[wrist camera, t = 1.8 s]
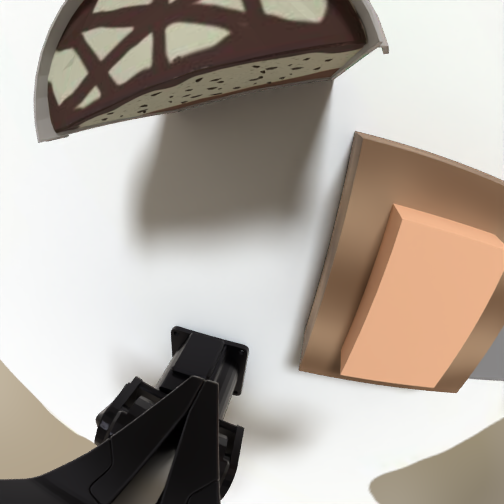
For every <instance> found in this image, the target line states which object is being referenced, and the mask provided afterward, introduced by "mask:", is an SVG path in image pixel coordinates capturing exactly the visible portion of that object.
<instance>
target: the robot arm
mask: <svg viewBox="0 0 504 504" xmlns="http://www.w3.org/2000/svg"><path fill="white" fill-rule="evenodd" d="M177 332H178V333H177ZM171 342H172V357H173V358H172V360H171V361H170V363H169V365H168V366H167V368H166V370H165V371H164V373H163V375H162V377H161V378H160V380H159V382H158V383H157V385H156V387H155V388H154V387H152V386H150V385H149V384H147V383H145V382H143V380H142V379H140V378H138V377H135V378H134V380H133V381H132V382H131V383H128V384H126V385H125V386H124V388H123V389H122V391H121V392H120V394H119V395H118V396H117V397H116V398H115V400H114V401H113V402H112V403H111V404H110V405H109V406H107V407H106V408H105V409H104V410H103V411H102V412H100V413H99V414H98V416H97V417H96V423H97V427H98V428H97V432H96V436H95V444H96V445H97V447H96V448H94V449H92V450H91V451H89V452H88V453H86V454H84V455H82V456H80V457H79V458H77V459H75V460H73V461H71V462H69V463H67V464H65V465H63V466H61V467H59V468H56V469H54V470H52V471H50V472H48V473H45V474H43V475H41V476H37V477H34V478H27V479H5V480H4V479H0V504H221V503H220V500H221V499H222V498H223V497H224V496H225V494H226V493H227V491H228V489H229V488H230V486H231V483H232V481H233V479H234V476H235V473H236V470H237V466H238V460H239V455H240V449H241V443H242V438H243V432H244V428H243V427H241V426H238V425H237V426H235V425H233V424H230V423H228V422H226V421H223V418H224V415H225V413H226V410H227V407H228V405H229V402H230V399H231V396H232V395H236V396H238V395H240V394H241V391H242V386H243V381H244V375H245V370H246V364H247V358H248V353H249V349H248V347H247V346H245V345H242V344H238V343H234V342H231V341H227V340H223V339H220V338H216V337H212V336H209V335H205V334H202V333H198V332H195V331H192V330H188V329H185V328H182V327H178V326H175V327H173V329H172V330H171ZM241 350H242V351H241Z"/></svg>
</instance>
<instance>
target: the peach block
mask: <svg viewBox="0 0 504 504" xmlns="http://www.w3.org/2000/svg"><path fill="white" fill-rule="evenodd" d="M503 272H504V243H503V242H502V241H501V240H500V239H499V238H498V237H497V236H496V235H494V234H492V233H489V232H486V231H483V230H480V229H477V228H474V227H471V226H468V225H465V224H462V223H458V222H455V221H452V220H449V219H446V218H442V217H439V216H436V215H432V214H429V213H426V212H422V211H419V210H415V209H412V208H408V207H404V206H401V205H397V204H393V206H392V209H391V213H390V216H389V220H388V223H387V226H386V230H385V233H384V236H383V239H382V242H381V245H380V248H379V252H378V255H377V257H376V260H375V263H374V266H373V269H372V272H371V275H370V278H369V280H368V283H367V286H366V289H365V291H364V294H363V297H362V299H361V302H360V305H359V307H358V310H357V312H356V315H355V317H354V320H353V322H352V325H351V327H350V330H349V332H348V334H347V337H346V339H345V342H344V344H343V346H342V349H341V367H340V375H344V376H350V377H356V378H362V379H368V380H374V381H381V382H388V383H396V384H403V385H412V386H420V387H430V388H434V387H435V386H436V384H437V383H438V382H439V380H440V379H441V377H442V376H443V375H444V373H445V372H446V370H447V369H448V368H449V366H450V365H451V363H452V362H453V360H454V359H455V357H456V356H457V354H458V353H459V351H460V350H461V348H462V347H463V345H464V343H465V342H466V340H467V339H468V337H469V335H470V334H471V332H472V330H473V329H474V327H475V325H476V324H477V322H478V320H479V318H480V317H481V315H482V313H483V311H484V309H485V308H486V306H487V304H488V302H489V300H490V298H491V296H492V294H493V292H494V290H495V288H496V286H497V284H498V282H499V280H500V278H501V276H502V274H503Z"/></svg>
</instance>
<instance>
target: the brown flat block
mask: <svg viewBox="0 0 504 504" xmlns="http://www.w3.org/2000/svg"><path fill="white" fill-rule="evenodd" d="M393 204H397V205H401V206H404V207H408V208H412V209H415V210H419V211H422V212H426V213H429V214H432V215H436V216H439V217H442V218H446V219H449V220H452V221H455V222H458V223H462V224H465V225H468V226H471V227H474V228H477V229H480V230H483V231H486V232H489V233H492V234H494V235H496V236H497V237H498V238H499V239H500V240H501V241H502V242H503V243H504V181H503V180H500V179H498V178H496V177H494V176H491V175H489V174H486V173H484V172H482V171H479V170H477V169H474V168H472V167H469V166H466V165H464V164H461V163H458V162H456V161H453V160H450V159H447V158H445V157H442V156H439V155H436V154H433V153H430V152H427V151H424V150H421V149H418V148H414V147H411V146H408V145H405V144H401V143H398V142H394V141H391V140H387V139H384V138H380V137H376V136H373V135H369V134H365V133H361V132H357V131H355V134H354V139H353V144H352V149H351V154H350V159H349V164H348V168H347V173H346V178H345V182H344V187H343V191H342V195H341V200H340V204H339V208H338V212H337V217H336V221H335V225H334V229H333V233H332V237H331V241H330V244H329V248H328V252H327V256H326V260H325V263H324V267H323V271H322V274H321V278H320V281H319V285H318V288H317V292H316V295H315V299H314V302H313V306H312V309H311V312H310V316H309V319H308V322H307V325H306V329H305V333H304V340H303V346H302V353H301V359H300V365H299V371H304V372H309V373H314V374H319V375H324V376H329V377H334V378H340V379H346V380H352V381H358V382H364V383H370V384H377V385H384V386H392V387H399V388H408V389H417V390H426V391H437V392H449V393H457V392H458V391H459V389H460V388H461V387H462V385H463V384H464V383H465V382H466V380H467V379H468V378H469V376H470V375H471V374H472V372H473V371H474V370H475V368H476V367H477V365H478V364H479V363H480V361H481V360H482V358H483V357H484V355H485V354H486V353H487V351H488V350H489V348H490V347H491V345H492V344H493V342H494V340H495V339H496V337H497V336H498V334H499V332H500V331H501V329H502V328H503V326H504V272H503V274H502V276H501V278H500V280H499V282H498V284H497V286H496V288H495V290H494V292H493V294H492V296H491V298H490V300H489V302H488V304H487V306H486V308H485V309H484V311H483V313H482V315H481V317H480V318H479V320H478V322H477V324H476V325H475V327H474V329H473V330H472V332H471V334H470V335H469V337H468V339H467V340H466V342H465V343H464V345H463V347H462V348H461V350H460V351H459V353H458V354H457V356H456V357H455V359H454V360H453V362H452V363H451V365H450V366H449V368H448V369H447V370H446V372H445V373H444V375H443V376H442V377H441V379H440V380H439V382H438V383H437V384H436V386H435V387H434V388H430V387H420V386H412V385H403V384H396V383H388V382H381V381H374V380H368V379H362V378H356V377H350V376H344V375H340V367H341V349H342V346H343V344H344V342H345V339H346V337H347V334H348V332H349V330H350V327H351V325H352V322H353V320H354V317H355V315H356V312H357V310H358V307H359V305H360V302H361V299H362V297H363V294H364V291H365V289H366V286H367V283H368V280H369V278H370V275H371V272H372V269H373V266H374V263H375V260H376V257H377V255H378V252H379V248H380V245H381V242H382V239H383V236H384V233H385V230H386V226H387V223H388V220H389V216H390V213H391V209H392V206H393Z"/></svg>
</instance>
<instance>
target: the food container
mask: <svg viewBox="0 0 504 504" xmlns="http://www.w3.org/2000/svg"><path fill="white" fill-rule="evenodd" d="M377 47H382V51H383V54H389V48H388V43H387V40H386V37H385V34H384V31H383V28H382V26H381V23H380V20H379V17H378V15H377V14H376V12H375V10H374V8H373V7H372V5H371V3H370V1H369V0H66V1H65V2H64V3H63V5H62V6H61V8H60V10H59V12H58V13H57V15H56V17H55V19H54V21H53V23H52V25H51V27H50V29H49V31H48V34H47V37H46V39H45V42H44V45H43V48H42V51H41V54H40V58H39V62H38V67H37V72H36V78H35V88H34V118H35V127H36V133H37V139H38V143H40V142H44V141H46V142H47V141H52V140H56V139H60V138H65V137H68V136H69V135H68V134H72V133H75V132H79V131H83V130H87V129H91V128H95V127H99V126H104V125H108V124H113V123H117V122H122V121H127V120H132V119H137V118H143V117H148V116H154V115H160V114H166V113H173V112H178V111H182V110H185V109H188V108H192V107H195V106H199V105H203V104H206V103H210V102H214V101H218V100H222V99H226V98H230V97H235V96H239V95H243V94H248V93H253V92H258V91H262V90H268V89H273V88H278V87H284V86H290V85H296V84H302V83H309V82H317V81H324V80H333V79H335V78H337V77H338V76H339V75H341V74H342V73H343V72H345V71H346V70H347V69H349V68H350V67H351V66H353V65H354V64H355V63H357V62H358V61H359V60H361V59H362V58H363V57H365V56H366V55H368V54H369V53H370V52H372V51H373V50H375V49H376V48H377Z"/></svg>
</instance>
